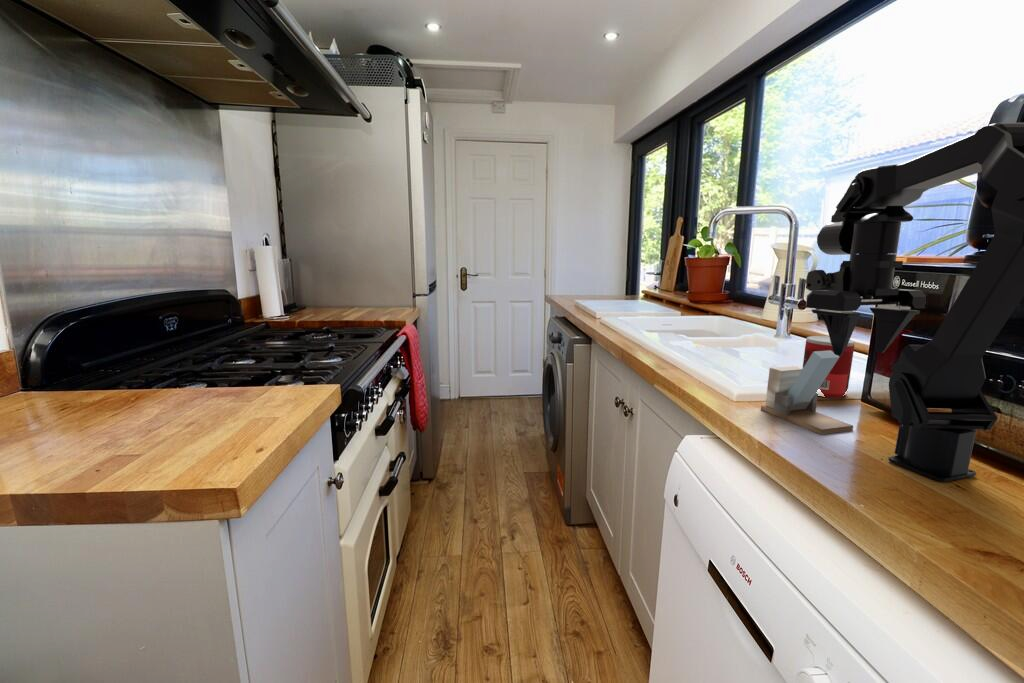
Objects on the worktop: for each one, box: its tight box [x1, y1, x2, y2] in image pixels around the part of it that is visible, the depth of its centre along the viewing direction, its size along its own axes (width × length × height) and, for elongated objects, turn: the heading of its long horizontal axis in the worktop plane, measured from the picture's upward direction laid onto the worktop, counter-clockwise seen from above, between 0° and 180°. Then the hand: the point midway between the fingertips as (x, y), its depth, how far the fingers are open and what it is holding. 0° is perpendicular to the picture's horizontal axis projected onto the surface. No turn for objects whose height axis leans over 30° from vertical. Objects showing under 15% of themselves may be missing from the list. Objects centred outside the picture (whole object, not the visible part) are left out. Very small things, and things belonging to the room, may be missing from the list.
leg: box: [787, 350, 839, 411], centre depth 78 cm, size 2×4×11 cm, turn 106°
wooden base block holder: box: [760, 365, 854, 435], centre depth 78 cm, size 12×6×8 cm, turn 16°
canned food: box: [802, 335, 855, 399], centre depth 93 cm, size 8×8×11 cm
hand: (859, 353), depth 74 cm, fingers open, 9 cm apart
